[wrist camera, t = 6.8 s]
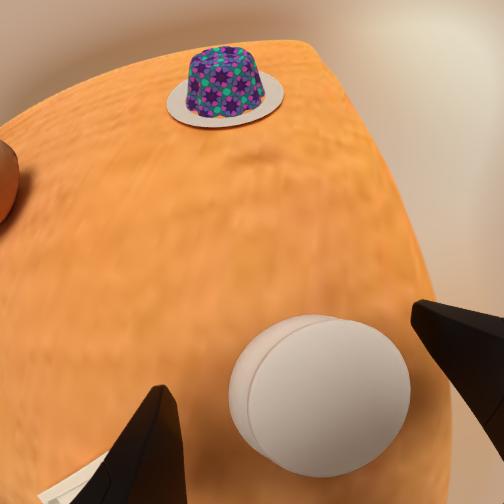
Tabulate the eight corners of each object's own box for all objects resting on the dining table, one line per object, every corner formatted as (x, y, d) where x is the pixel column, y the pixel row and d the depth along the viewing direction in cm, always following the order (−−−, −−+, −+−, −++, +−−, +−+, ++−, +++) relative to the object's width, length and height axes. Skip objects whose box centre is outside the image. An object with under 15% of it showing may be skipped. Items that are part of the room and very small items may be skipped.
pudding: (295, 127, 23) (300, 79, 18) (162, 142, 22) (146, 97, 17) (272, 69, 27) (273, 33, 23) (173, 80, 27) (165, 45, 22)
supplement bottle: (269, 320, 16) (285, 250, 7) (350, 359, 14) (457, 337, 5) (223, 400, 14) (171, 444, 5) (307, 440, 12) (369, 518, 4)
